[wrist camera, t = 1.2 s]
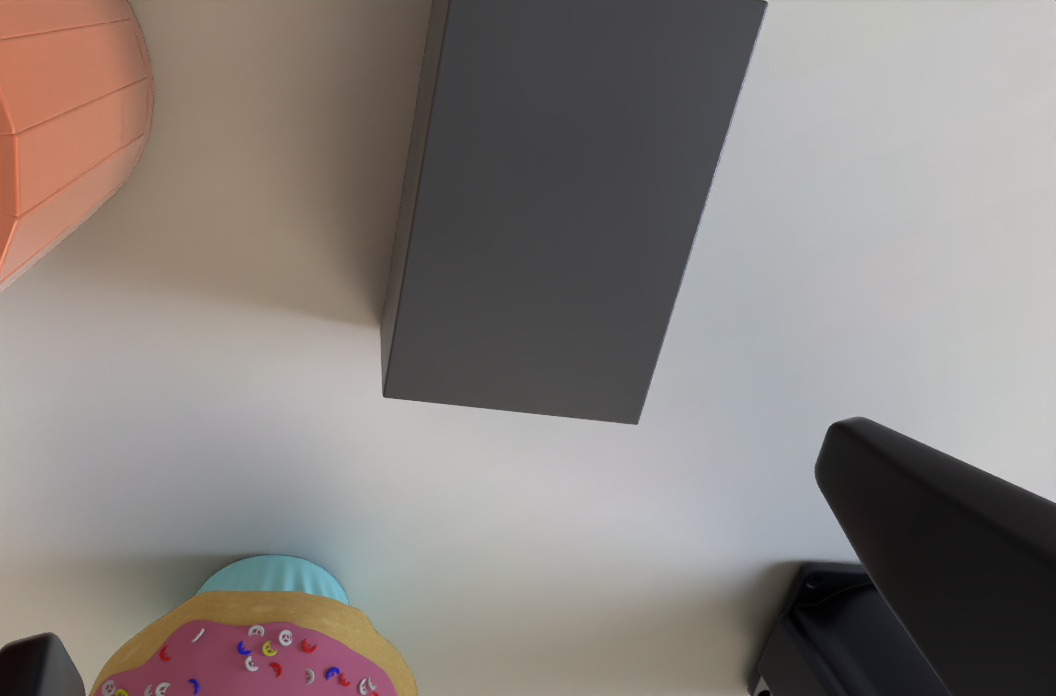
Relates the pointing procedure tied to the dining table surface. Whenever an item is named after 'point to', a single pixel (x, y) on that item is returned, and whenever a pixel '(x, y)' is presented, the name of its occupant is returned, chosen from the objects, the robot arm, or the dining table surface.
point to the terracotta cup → (66, 118)
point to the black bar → (556, 197)
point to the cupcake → (260, 641)
